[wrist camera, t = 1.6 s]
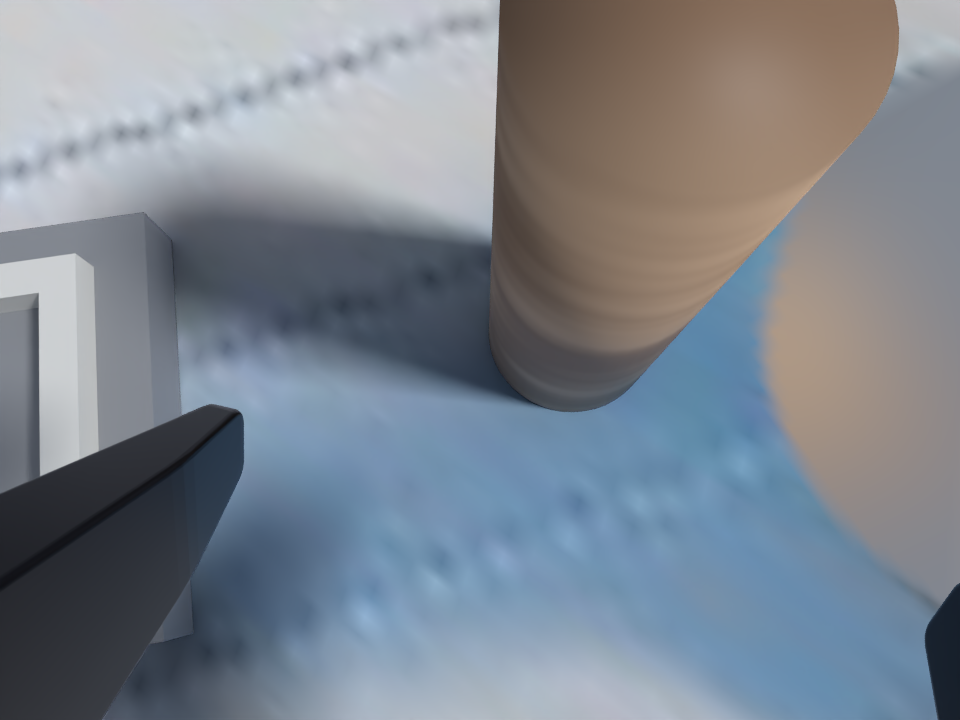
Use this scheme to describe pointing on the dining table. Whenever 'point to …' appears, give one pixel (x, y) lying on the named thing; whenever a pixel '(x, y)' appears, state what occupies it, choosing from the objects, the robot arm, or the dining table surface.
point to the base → (86, 349)
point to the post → (656, 166)
